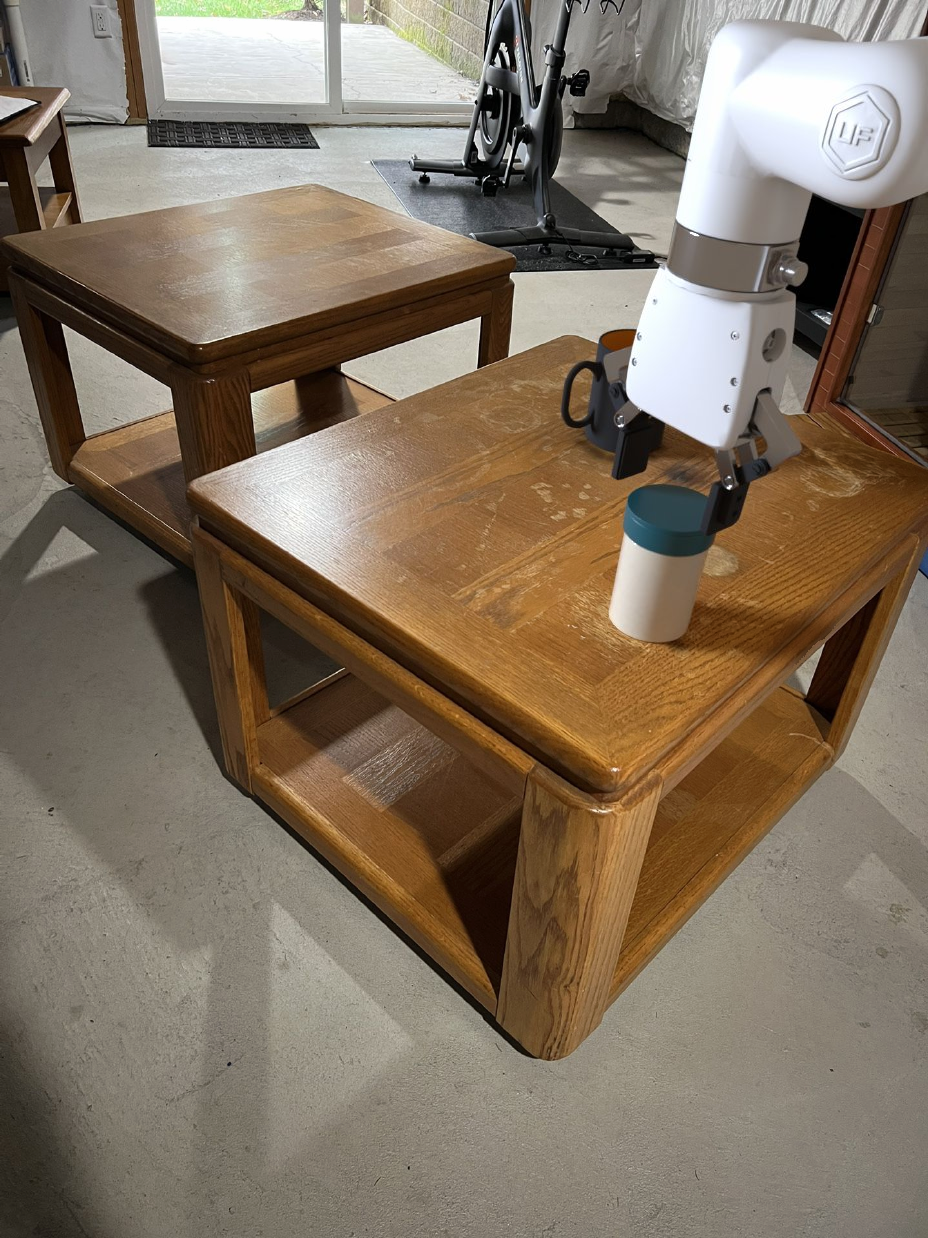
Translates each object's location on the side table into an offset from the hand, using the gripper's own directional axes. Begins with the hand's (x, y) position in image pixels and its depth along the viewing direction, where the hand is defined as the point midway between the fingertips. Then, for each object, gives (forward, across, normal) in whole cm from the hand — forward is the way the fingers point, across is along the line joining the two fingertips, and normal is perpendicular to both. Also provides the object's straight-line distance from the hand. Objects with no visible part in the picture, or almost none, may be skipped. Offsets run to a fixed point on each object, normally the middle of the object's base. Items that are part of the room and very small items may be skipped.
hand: (671, 500), depth 68 cm
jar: (+11, 0, 0) cm, 11 cm away
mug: (+11, +24, -20) cm, 33 cm away
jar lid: (+1, 0, 0) cm, 1 cm away
